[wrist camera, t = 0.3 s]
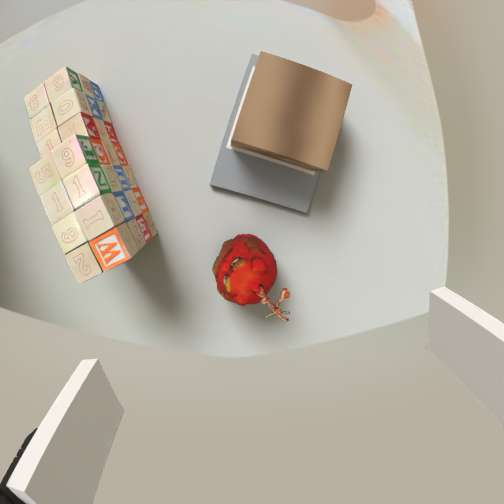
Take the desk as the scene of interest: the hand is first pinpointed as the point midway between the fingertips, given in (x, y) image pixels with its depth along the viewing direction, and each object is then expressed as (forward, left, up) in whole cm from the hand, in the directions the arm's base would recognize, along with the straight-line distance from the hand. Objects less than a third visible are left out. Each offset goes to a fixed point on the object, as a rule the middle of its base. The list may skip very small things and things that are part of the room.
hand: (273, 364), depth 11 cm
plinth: (+1, +14, -27) cm, 30 cm away
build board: (+1, +13, -28) cm, 30 cm away
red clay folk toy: (+2, -4, -28) cm, 28 cm away
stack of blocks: (-18, +3, -28) cm, 34 cm away
